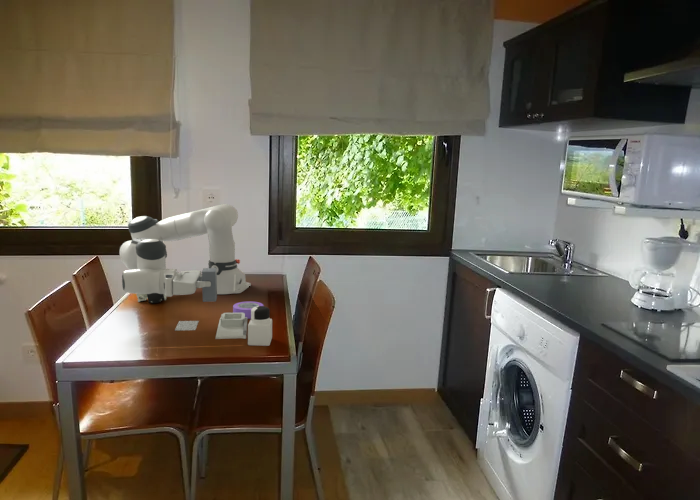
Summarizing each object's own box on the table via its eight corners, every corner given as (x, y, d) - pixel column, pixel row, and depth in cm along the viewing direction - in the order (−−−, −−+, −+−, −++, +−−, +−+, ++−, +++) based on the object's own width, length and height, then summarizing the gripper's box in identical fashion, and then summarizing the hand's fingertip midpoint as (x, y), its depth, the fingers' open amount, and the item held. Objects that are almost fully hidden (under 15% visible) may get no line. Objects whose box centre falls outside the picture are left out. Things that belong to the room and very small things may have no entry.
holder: (220, 320, 186) (220, 311, 186) (247, 319, 188) (247, 310, 188) (215, 339, 167) (215, 329, 166) (246, 338, 169) (246, 328, 168)
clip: (204, 297, 180) (203, 268, 177) (217, 297, 180) (216, 268, 178) (202, 301, 175) (201, 271, 173) (215, 301, 176) (215, 271, 173)
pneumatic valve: (133, 295, 200) (164, 289, 202) (139, 288, 211) (168, 282, 213) (136, 308, 201) (167, 302, 203) (142, 300, 212) (171, 295, 214)
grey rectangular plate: (178, 321, 183) (179, 321, 183) (198, 321, 184) (198, 320, 184) (174, 331, 173) (174, 330, 173) (195, 330, 174) (195, 330, 174)
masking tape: (231, 311, 199) (231, 302, 198) (260, 309, 203) (260, 300, 202) (235, 320, 188) (235, 310, 187) (266, 318, 192) (266, 308, 191)
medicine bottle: (272, 338, 170) (272, 304, 168) (269, 346, 163) (269, 311, 161) (251, 337, 170) (251, 304, 168) (247, 345, 163) (247, 310, 161)
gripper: (176, 282, 185) (214, 282, 187) (165, 298, 165) (208, 298, 167) (175, 266, 183) (214, 266, 186) (165, 279, 164) (208, 279, 166)
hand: (211, 281), depth 176 cm, fingers closed on clip, 5 cm apart
